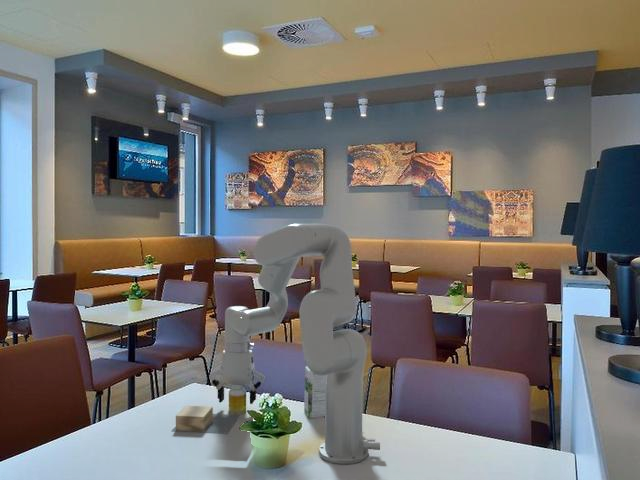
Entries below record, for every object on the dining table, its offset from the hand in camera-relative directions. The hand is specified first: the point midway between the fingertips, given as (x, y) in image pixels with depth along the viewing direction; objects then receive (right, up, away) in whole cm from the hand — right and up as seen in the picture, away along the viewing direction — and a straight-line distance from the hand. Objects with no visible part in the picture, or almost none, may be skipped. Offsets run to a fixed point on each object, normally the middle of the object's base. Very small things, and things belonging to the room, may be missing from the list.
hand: (236, 401), depth 156 cm
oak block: (-10, -3, -12) cm, 16 cm away
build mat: (-7, -4, -10) cm, 13 cm away
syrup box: (+24, -4, 0) cm, 25 cm away
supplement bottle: (0, -4, 0) cm, 4 cm away
